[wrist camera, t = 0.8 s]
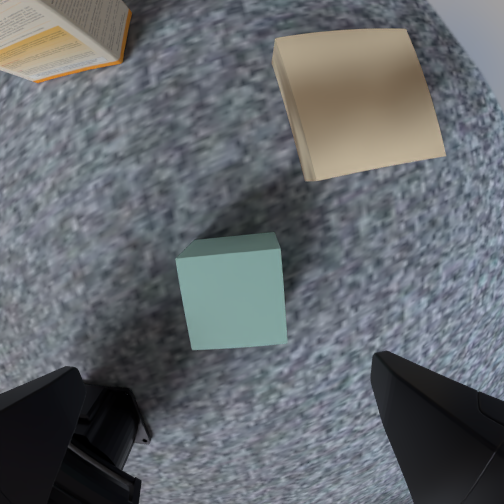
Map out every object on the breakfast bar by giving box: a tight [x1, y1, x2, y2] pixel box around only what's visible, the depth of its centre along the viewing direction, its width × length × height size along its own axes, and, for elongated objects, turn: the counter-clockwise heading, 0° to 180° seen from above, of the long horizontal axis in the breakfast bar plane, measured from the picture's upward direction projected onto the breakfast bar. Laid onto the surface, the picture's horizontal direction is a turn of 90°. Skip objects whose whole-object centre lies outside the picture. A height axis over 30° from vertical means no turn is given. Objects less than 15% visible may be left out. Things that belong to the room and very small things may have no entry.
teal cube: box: [176, 232, 287, 350], centre depth 18 cm, size 5×5×5 cm
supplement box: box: [0, 0, 132, 83], centre depth 10 cm, size 8×5×13 cm, turn 87°
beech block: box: [272, 29, 446, 181], centre depth 16 cm, size 8×8×4 cm
